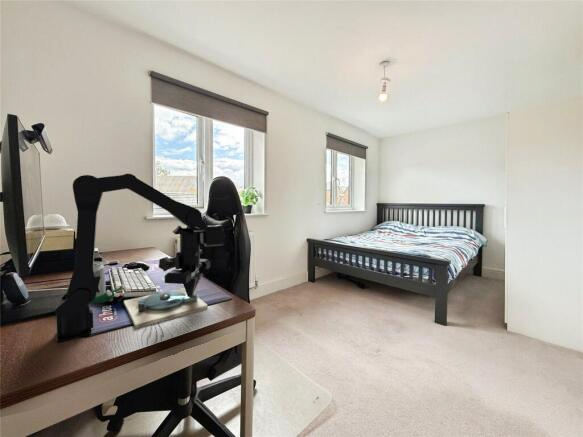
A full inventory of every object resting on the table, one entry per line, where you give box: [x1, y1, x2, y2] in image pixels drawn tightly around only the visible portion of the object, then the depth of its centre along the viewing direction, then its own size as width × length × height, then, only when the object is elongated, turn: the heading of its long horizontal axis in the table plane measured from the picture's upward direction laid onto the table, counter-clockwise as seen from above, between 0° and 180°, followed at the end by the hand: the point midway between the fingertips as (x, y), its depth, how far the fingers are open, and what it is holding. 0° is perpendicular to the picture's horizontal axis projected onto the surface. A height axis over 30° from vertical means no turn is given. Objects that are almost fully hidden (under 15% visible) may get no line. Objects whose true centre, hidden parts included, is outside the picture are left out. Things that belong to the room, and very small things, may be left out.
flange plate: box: [138, 285, 199, 310], centre depth 80 cm, size 17×12×5 cm
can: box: [94, 261, 107, 297], centre depth 84 cm, size 8×8×12 cm
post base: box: [123, 287, 208, 329], centre depth 80 cm, size 20×20×3 cm
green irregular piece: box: [91, 283, 127, 304], centre depth 84 cm, size 9×4×6 cm
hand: (189, 296), depth 79 cm, fingers closed
